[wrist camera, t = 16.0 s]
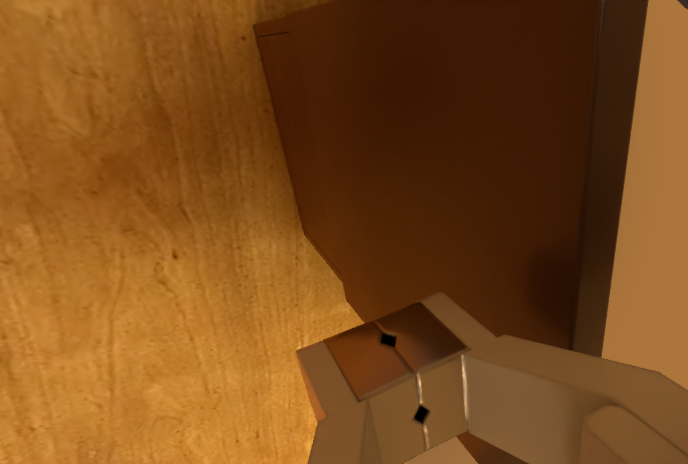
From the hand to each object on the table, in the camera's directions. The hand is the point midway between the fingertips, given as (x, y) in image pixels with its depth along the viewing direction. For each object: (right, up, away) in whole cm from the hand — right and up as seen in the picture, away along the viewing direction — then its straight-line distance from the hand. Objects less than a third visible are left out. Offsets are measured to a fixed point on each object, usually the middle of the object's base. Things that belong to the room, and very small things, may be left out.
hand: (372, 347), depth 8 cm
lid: (+2, +2, +4) cm, 5 cm away
